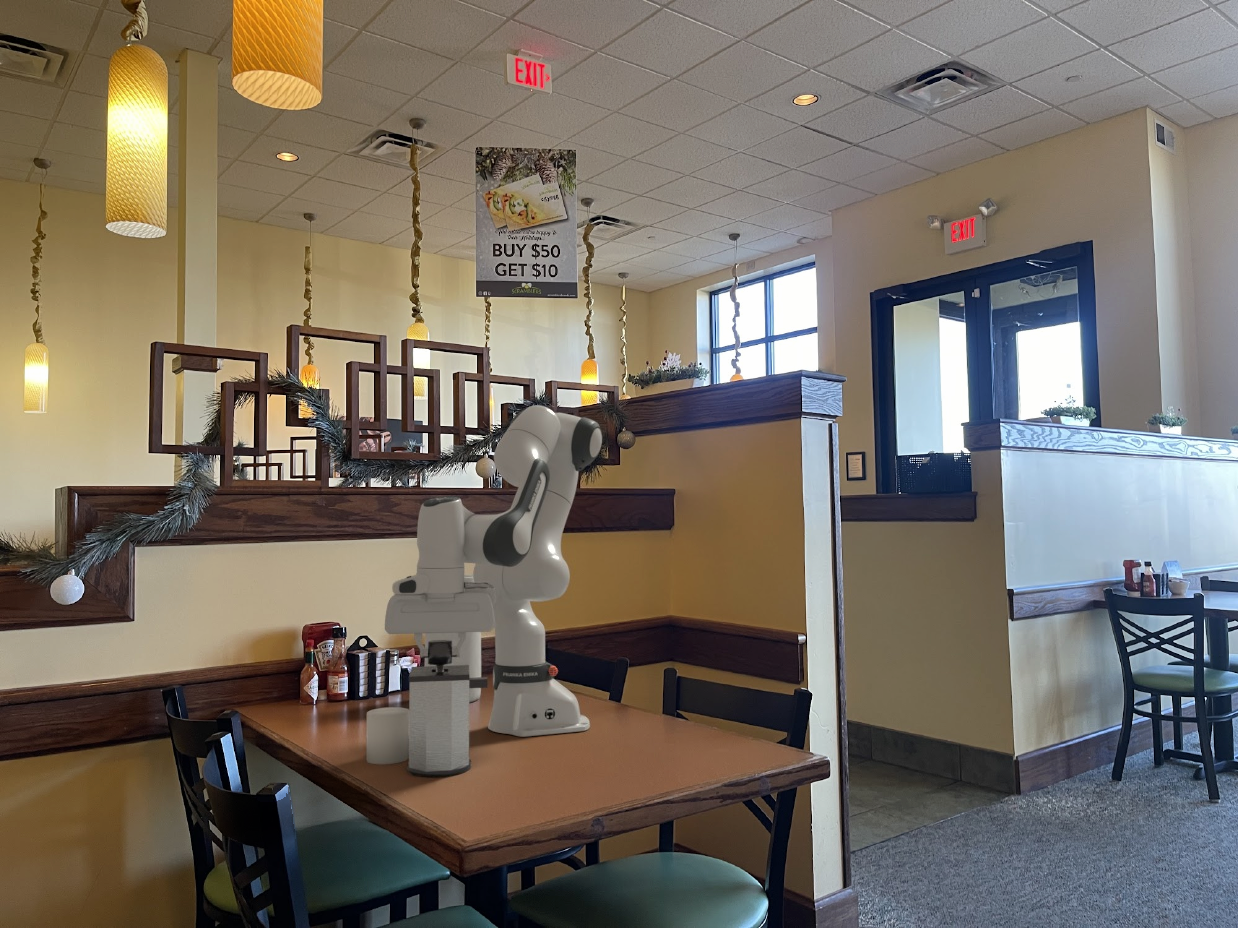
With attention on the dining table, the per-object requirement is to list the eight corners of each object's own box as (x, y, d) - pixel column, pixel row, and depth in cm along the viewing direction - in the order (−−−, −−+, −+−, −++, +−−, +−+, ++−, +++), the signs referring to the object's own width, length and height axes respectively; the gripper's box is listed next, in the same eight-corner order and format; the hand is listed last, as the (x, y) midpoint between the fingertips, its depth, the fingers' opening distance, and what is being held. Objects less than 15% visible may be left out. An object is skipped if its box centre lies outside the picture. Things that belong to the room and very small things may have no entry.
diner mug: (410, 748, 182) (410, 703, 183) (408, 762, 172) (408, 714, 172) (369, 750, 181) (369, 705, 182) (364, 765, 170) (364, 717, 171)
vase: (425, 695, 237) (425, 574, 239) (480, 693, 239) (480, 573, 241) (423, 706, 223) (424, 578, 224) (482, 704, 225) (482, 577, 227)
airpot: (405, 778, 161) (406, 676, 162) (409, 761, 172) (409, 666, 173) (488, 774, 163) (488, 674, 165) (486, 757, 175) (486, 663, 176)
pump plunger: (451, 751, 170) (452, 639, 172) (451, 757, 166) (451, 642, 167) (427, 752, 170) (428, 640, 171) (426, 758, 165) (427, 643, 166)
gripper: (495, 580, 175) (495, 652, 174) (386, 582, 171) (386, 656, 170) (496, 583, 168) (496, 657, 168) (384, 584, 165) (383, 661, 164)
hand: (439, 656), depth 169 cm, fingers closed on pump plunger, 4 cm apart
